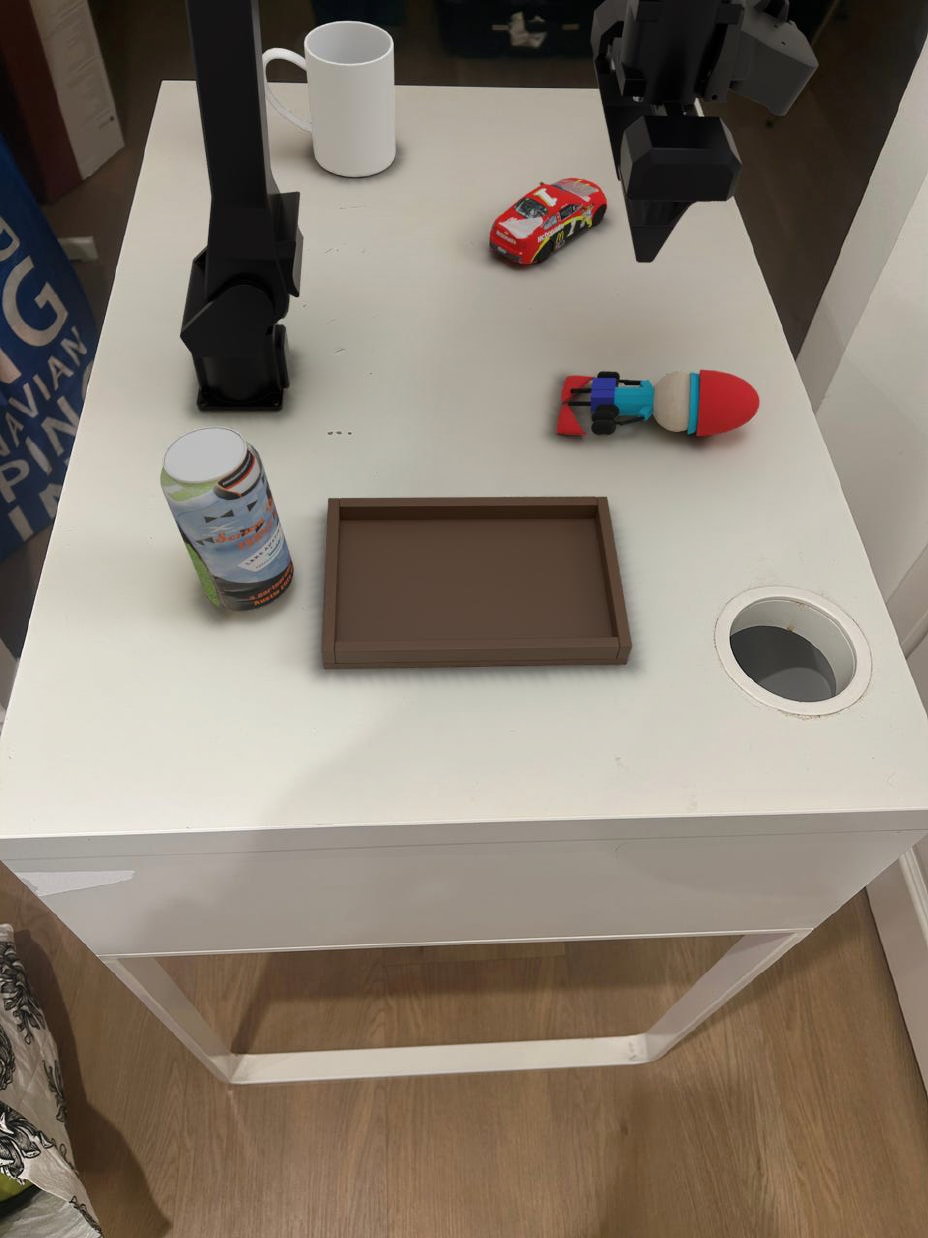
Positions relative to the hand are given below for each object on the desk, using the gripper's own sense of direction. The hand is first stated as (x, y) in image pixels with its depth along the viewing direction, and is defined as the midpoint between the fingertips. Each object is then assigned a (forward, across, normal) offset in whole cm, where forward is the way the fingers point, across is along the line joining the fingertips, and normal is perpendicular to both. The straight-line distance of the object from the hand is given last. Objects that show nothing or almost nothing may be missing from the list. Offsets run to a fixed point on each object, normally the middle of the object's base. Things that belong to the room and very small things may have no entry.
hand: (634, 218), depth 66 cm
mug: (+15, +32, +22) cm, 42 cm away
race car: (+15, +20, +2) cm, 25 cm away
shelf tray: (+15, -20, +11) cm, 27 cm away
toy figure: (+15, -4, -4) cm, 16 cm away
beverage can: (+15, -19, +27) cm, 36 cm away
